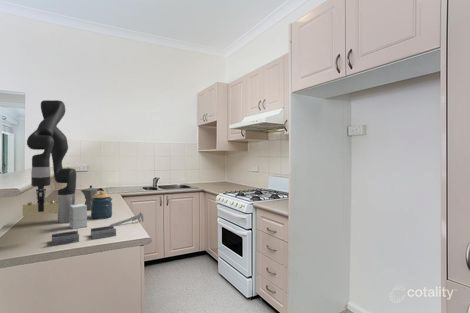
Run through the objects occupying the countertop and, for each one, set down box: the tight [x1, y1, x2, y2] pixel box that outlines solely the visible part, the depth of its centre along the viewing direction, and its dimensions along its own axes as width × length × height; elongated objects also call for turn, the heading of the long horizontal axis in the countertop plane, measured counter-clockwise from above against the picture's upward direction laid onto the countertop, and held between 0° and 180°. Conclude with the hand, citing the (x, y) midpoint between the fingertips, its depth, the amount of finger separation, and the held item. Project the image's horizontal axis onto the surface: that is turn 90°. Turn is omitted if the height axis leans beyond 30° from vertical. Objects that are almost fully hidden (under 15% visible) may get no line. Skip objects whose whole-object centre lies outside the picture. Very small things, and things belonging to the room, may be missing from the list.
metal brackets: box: [51, 225, 117, 247], centre depth 135 cm, size 8×28×4 cm, turn 125°
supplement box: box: [69, 203, 88, 230], centre depth 155 cm, size 7×7×13 cm
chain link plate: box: [22, 200, 58, 217], centre depth 130 cm, size 3×14×6 cm, turn 125°
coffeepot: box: [80, 185, 105, 212], centre depth 200 cm, size 15×9×18 cm, turn 118°
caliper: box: [109, 211, 144, 227], centre depth 162 cm, size 20×1×6 cm, turn 129°
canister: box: [90, 191, 113, 220], centre depth 178 cm, size 13×13×18 cm
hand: (41, 210), depth 130 cm, fingers closed on chain link plate, 3 cm apart
